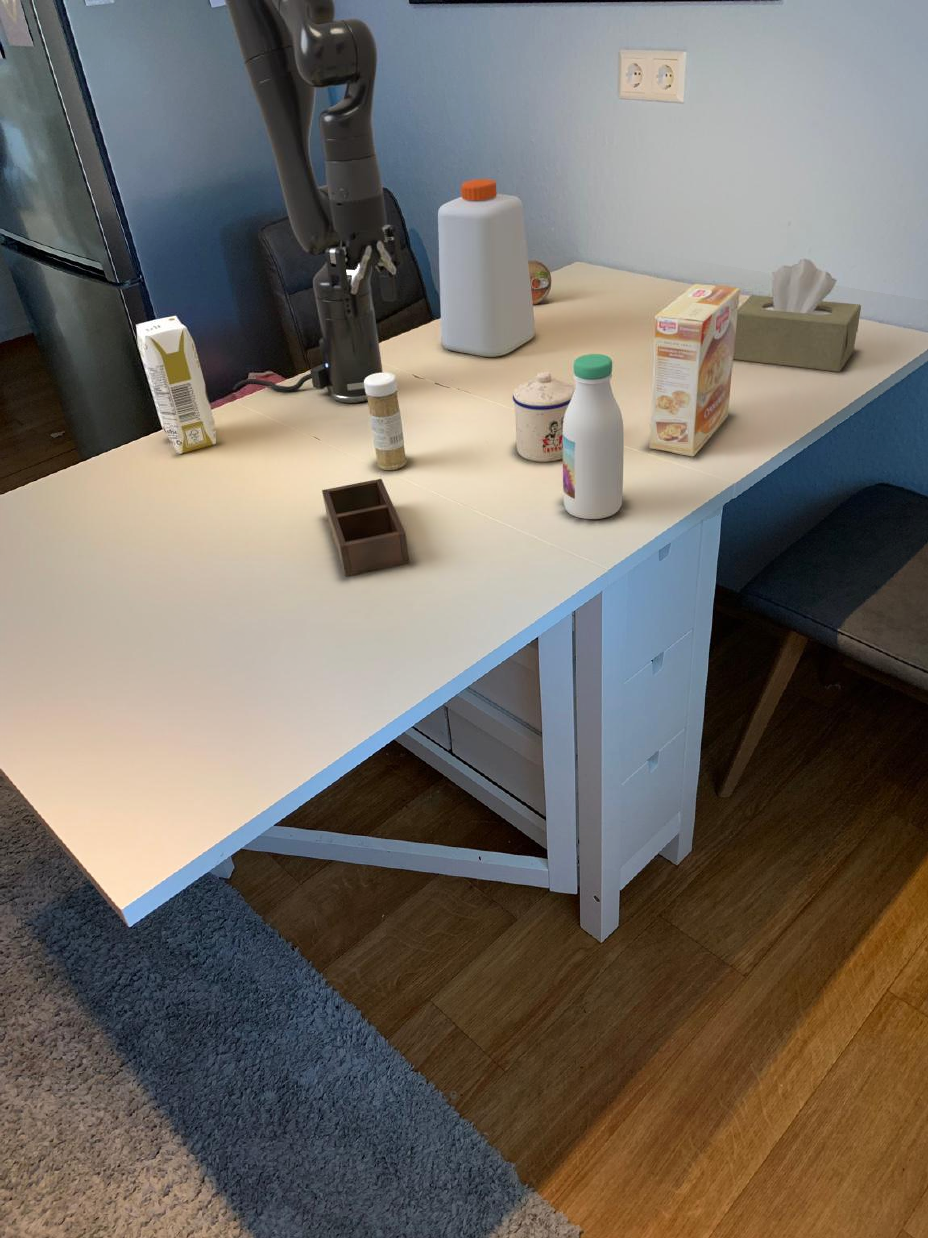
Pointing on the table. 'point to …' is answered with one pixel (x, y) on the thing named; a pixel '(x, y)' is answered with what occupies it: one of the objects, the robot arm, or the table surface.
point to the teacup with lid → (541, 417)
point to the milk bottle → (593, 442)
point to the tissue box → (797, 322)
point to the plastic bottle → (484, 272)
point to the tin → (539, 281)
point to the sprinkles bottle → (385, 420)
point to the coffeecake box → (693, 367)
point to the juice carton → (176, 383)
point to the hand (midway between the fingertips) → (372, 309)
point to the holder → (365, 527)
